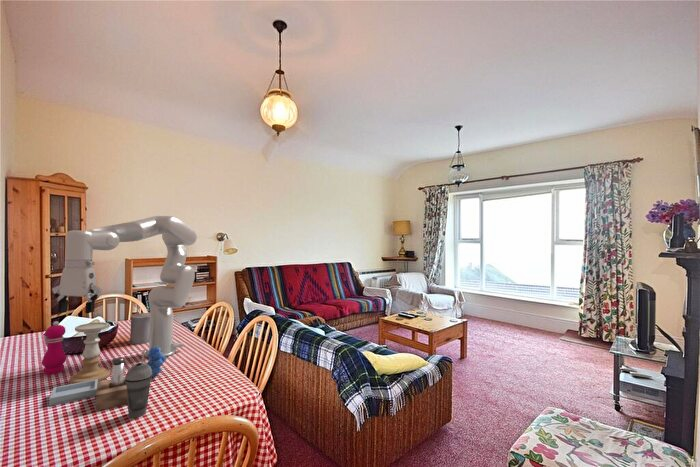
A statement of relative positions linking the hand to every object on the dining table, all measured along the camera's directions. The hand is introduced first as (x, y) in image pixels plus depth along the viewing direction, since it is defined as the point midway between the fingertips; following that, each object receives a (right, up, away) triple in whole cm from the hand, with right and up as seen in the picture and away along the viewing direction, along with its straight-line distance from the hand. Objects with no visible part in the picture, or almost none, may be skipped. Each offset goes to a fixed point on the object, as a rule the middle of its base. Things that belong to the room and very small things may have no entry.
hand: (76, 312), depth 115 cm
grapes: (+22, -28, +12) cm, 38 cm away
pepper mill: (-20, -27, +13) cm, 36 cm away
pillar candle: (-10, -28, +51) cm, 59 cm away
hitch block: (+20, -28, -7) cm, 35 cm away
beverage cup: (+32, -28, -15) cm, 46 cm away
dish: (+4, -27, -5) cm, 28 cm away
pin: (+20, -28, -7) cm, 35 cm away
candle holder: (-1, -28, +8) cm, 29 cm away
